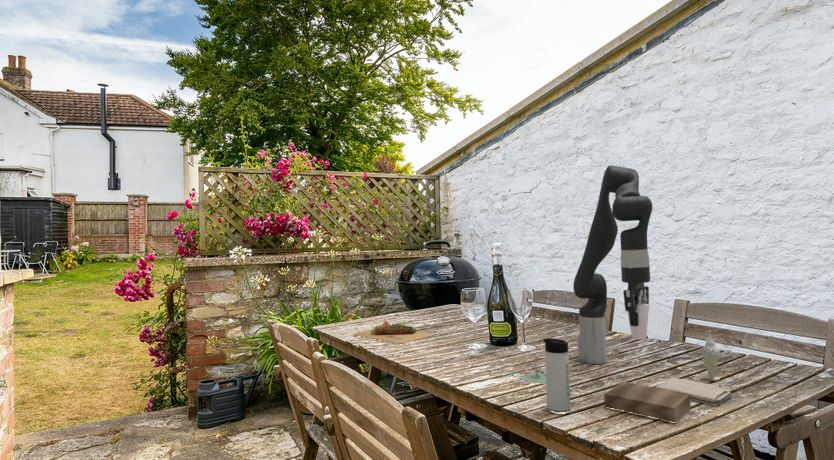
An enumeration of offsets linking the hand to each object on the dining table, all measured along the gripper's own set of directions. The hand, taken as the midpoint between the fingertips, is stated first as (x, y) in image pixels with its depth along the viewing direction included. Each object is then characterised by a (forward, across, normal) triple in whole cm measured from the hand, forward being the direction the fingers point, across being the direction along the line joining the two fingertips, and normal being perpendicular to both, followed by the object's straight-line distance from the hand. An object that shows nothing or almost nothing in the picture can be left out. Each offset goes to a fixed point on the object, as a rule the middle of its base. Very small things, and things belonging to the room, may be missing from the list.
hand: (638, 324), depth 138 cm
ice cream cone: (+23, -36, +10) cm, 44 cm away
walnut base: (+23, +3, +2) cm, 23 cm away
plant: (+23, +1, -35) cm, 42 cm away
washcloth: (+23, -17, +8) cm, 30 cm away
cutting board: (+20, -23, -127) cm, 130 cm away
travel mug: (+23, +20, -16) cm, 34 cm away
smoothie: (+4, 0, 0) cm, 4 cm away
